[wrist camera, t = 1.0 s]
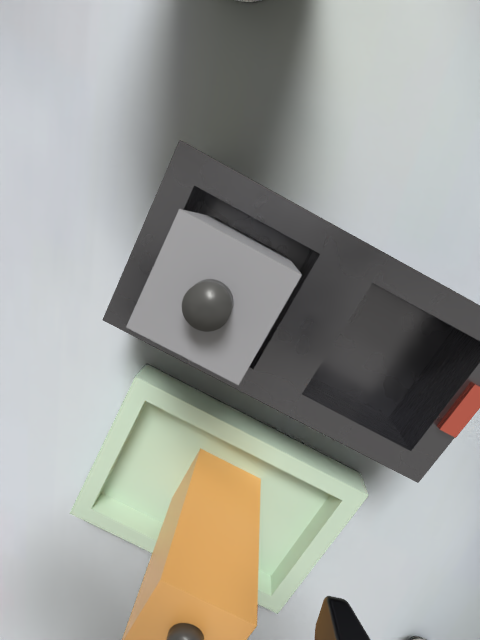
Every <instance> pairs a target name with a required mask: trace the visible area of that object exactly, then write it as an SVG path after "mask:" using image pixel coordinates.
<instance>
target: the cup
mask: <svg viewBox="0 0 480 640" xmlns="http://www.w3.org/2000/svg"><path fill="white" fill-rule="evenodd" d="M236 1H241V2H255V1H260V0H236Z"/></svg>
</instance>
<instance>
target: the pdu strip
mask: <svg viewBox="0 0 480 640" xmlns="http://www.w3.org/2000/svg"><path fill="white" fill-rule="evenodd" d="M179 209H182V210H187V211H191V212H195V213H200V214H204V215H208V216H212V217H216V218H217V219H219V220H221V221H223V222H225V223H227V224H228V225H230V226H232V227H234V228H236V229H238V230H240V231H241V232H243V233H245V234H247V235H249V236H251V237H252V238H254V239H256V240H258V241H260V242H262V243H264V244H265V245H267V246H269V247H271V248H273V249H275V250H276V251H278V252H280V253H282V254H284V255H286V256H288V257H289V259H290V260H291V261H292V263H293V264H294V265H295V267H296V268H297V269H298V270H299V272H300V273H301V274H302V276H301V278H300V279H299V281H298V283H297V285H296V286H295V288H294V290H293V291H292V293H291V295H290V297H289V298H288V300H287V302H286V304H285V305H284V307H283V309H282V311H281V312H280V314H279V316H278V318H277V319H276V321H275V323H274V325H273V326H272V328H271V330H270V331H269V333H268V335H267V337H266V338H265V340H264V342H263V344H262V345H261V347H260V349H259V351H258V352H257V354H256V356H255V358H254V359H253V361H252V363H251V364H250V366H249V368H248V370H247V371H246V373H245V375H244V377H243V378H242V380H241V382H240V384H239V385H237V384H235V383H233V382H231V381H229V380H227V379H225V378H223V377H221V376H220V375H218V374H216V373H214V372H212V371H210V370H208V369H206V368H204V367H202V366H200V365H198V364H196V363H194V362H192V361H190V360H189V359H187V358H185V357H183V356H181V355H179V354H177V353H175V352H173V351H171V350H169V349H167V348H165V347H163V346H161V345H160V344H158V343H156V342H154V341H152V340H150V339H148V338H146V337H144V336H142V335H140V334H138V333H136V332H134V331H132V330H130V329H129V328H127V327H126V326H127V324H128V322H129V319H130V317H131V315H132V313H133V310H134V308H135V306H136V304H137V302H138V299H139V297H140V295H141V293H142V291H143V288H144V286H145V284H146V282H147V279H148V277H149V275H150V273H151V271H152V268H153V266H154V264H155V262H156V260H157V257H158V255H159V253H160V251H161V248H162V246H163V244H164V242H165V240H166V237H167V235H168V233H169V231H170V228H171V226H172V224H173V222H174V220H175V217H176V215H177V213H178V211H179ZM103 321H105V322H107V323H109V324H111V325H113V326H115V327H117V328H119V329H121V330H123V331H125V332H127V333H129V334H131V335H133V336H134V337H136V338H138V339H140V340H142V341H144V342H146V343H148V344H150V345H152V346H154V347H156V348H158V349H160V350H162V351H164V352H165V353H167V354H169V355H171V356H173V357H175V358H177V359H179V360H181V361H183V362H185V363H187V364H189V365H191V366H193V367H195V368H197V369H198V370H200V371H202V372H204V373H206V374H208V375H210V376H212V377H214V378H216V379H218V380H220V381H222V382H224V383H226V384H228V385H229V386H231V387H233V388H235V389H237V390H239V391H241V392H243V393H245V394H247V395H249V396H251V397H253V398H255V399H257V400H259V401H260V402H262V403H264V404H266V405H268V406H270V407H272V408H274V409H276V410H278V411H280V412H282V413H284V414H286V415H288V416H290V417H291V418H293V419H295V420H297V421H299V422H301V423H303V424H305V425H307V426H309V427H311V428H313V429H315V430H317V431H319V432H321V433H323V434H324V435H326V436H328V437H330V438H332V439H334V440H336V441H338V442H340V443H342V444H344V445H346V446H348V447H350V448H352V449H354V450H355V451H357V452H359V453H361V454H363V455H365V456H367V457H369V458H371V459H373V460H375V461H377V462H379V463H381V464H383V465H385V466H386V467H388V468H390V469H392V470H394V471H396V472H398V473H400V474H402V475H404V476H406V477H408V478H410V479H412V480H414V481H416V482H417V483H418V482H419V481H420V480H421V479H422V478H423V476H424V475H425V474H426V473H427V471H428V470H429V469H430V468H431V466H432V465H433V464H434V463H435V461H436V460H437V459H438V458H439V456H440V455H441V454H442V453H443V451H444V450H445V449H446V448H447V447H448V445H449V444H450V443H451V442H452V440H453V439H454V438H456V437H457V435H458V434H459V433H460V432H461V431H462V429H463V428H464V427H465V426H466V424H467V423H468V422H469V421H470V419H471V418H472V417H473V416H474V414H475V413H476V412H477V411H478V409H479V408H480V305H478V304H476V303H475V302H473V301H471V300H469V299H467V298H465V297H464V296H462V295H460V294H458V293H456V292H455V291H453V290H451V289H449V288H447V287H446V286H444V285H442V284H440V283H438V282H436V281H435V280H433V279H431V278H429V277H427V276H426V275H424V274H422V273H420V272H418V271H417V270H415V269H413V268H411V267H409V266H407V265H406V264H404V263H402V262H400V261H398V260H397V259H395V258H393V257H391V256H389V255H388V254H386V253H384V252H382V251H380V250H378V249H377V248H375V247H373V246H371V245H369V244H368V243H366V242H364V241H362V240H360V239H358V238H357V237H355V236H353V235H351V234H349V233H348V232H346V231H344V230H342V229H340V228H339V227H337V226H335V225H333V224H331V223H329V222H328V221H326V220H324V219H322V218H320V217H319V216H317V215H315V214H313V213H311V212H310V211H308V210H306V209H304V208H302V207H300V206H299V205H297V204H295V203H293V202H291V201H290V200H288V199H286V198H284V197H282V196H281V195H279V194H277V193H275V192H273V191H271V190H270V189H268V188H266V187H264V186H262V185H261V184H259V183H257V182H255V181H253V180H252V179H250V178H248V177H246V176H244V175H242V174H241V173H239V172H237V171H235V170H233V169H232V168H230V167H228V166H226V165H224V164H223V163H221V162H219V161H217V160H215V159H213V158H212V157H210V156H208V155H206V154H204V153H203V152H201V151H199V150H197V149H195V148H194V147H192V146H190V145H188V144H186V143H184V142H183V141H181V140H180V141H179V143H178V145H177V148H176V150H175V152H174V155H173V157H172V159H171V162H170V164H169V166H168V169H167V171H166V173H165V176H164V178H163V180H162V183H161V185H160V187H159V190H158V192H157V194H156V197H155V199H154V201H153V203H152V206H151V208H150V210H149V213H148V215H147V217H146V220H145V222H144V224H143V227H142V229H141V231H140V234H139V236H138V238H137V241H136V243H135V245H134V248H133V250H132V252H131V255H130V257H129V259H128V262H127V264H126V266H125V269H124V271H123V273H122V276H121V278H120V280H119V283H118V285H117V287H116V290H115V292H114V294H113V297H112V299H111V301H110V304H109V306H108V308H107V311H106V313H105V315H104V318H103Z"/></svg>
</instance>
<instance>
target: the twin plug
mask: <svg viewBox="0 0 480 640" xmlns="http://www.w3.org/2000/svg"><path fill="white" fill-rule="evenodd" d="M301 276H302V274H301V273H300V272H299V270H298V269H297V268H296V267H295V265H294V264H293V263H292V261H291V260H290V259H289V257H288V256H286V255H284V254H282V253H280V252H278V251H276V250H275V249H273V248H271V247H269V246H267V245H265V244H264V243H262V242H260V241H258V240H256V239H254V238H252V237H251V236H249V235H247V234H245V233H243V232H241V231H240V230H238V229H236V228H234V227H232V226H230V225H228V224H227V223H225V222H223V221H221V220H219V219H217V218H216V217H212V216H208V215H204V214H200V213H195V212H191V211H187V210H182V209H179V211H178V213H177V215H176V217H175V220H174V222H173V224H172V226H171V228H170V231H169V233H168V235H167V237H166V240H165V242H164V244H163V246H162V248H161V251H160V253H159V255H158V257H157V260H156V262H155V264H154V266H153V268H152V271H151V273H150V275H149V277H148V279H147V282H146V284H145V286H144V288H143V291H142V293H141V295H140V297H139V299H138V302H137V304H136V306H135V308H134V310H133V313H132V315H131V317H130V319H129V322H128V324H127V326H126V327H127V328H129V329H130V330H132V331H134V332H136V333H138V334H140V335H142V336H144V337H146V338H148V339H150V340H152V341H154V342H156V343H158V344H160V345H161V346H163V347H165V348H167V349H169V350H171V351H173V352H175V353H177V354H179V355H181V356H183V357H185V358H187V359H189V360H190V361H192V362H194V363H196V364H198V365H200V366H202V367H204V368H206V369H208V370H210V371H212V372H214V373H216V374H218V375H220V376H221V377H223V378H225V379H227V380H229V381H231V382H233V383H235V384H237V385H239V384H240V382H241V380H242V378H243V377H244V375H245V373H246V371H247V370H248V368H249V366H250V364H251V363H252V361H253V359H254V358H255V356H256V354H257V352H258V351H259V349H260V347H261V345H262V344H263V342H264V340H265V338H266V337H267V335H268V333H269V331H270V330H271V328H272V326H273V325H274V323H275V321H276V319H277V318H278V316H279V314H280V312H281V311H282V309H283V307H284V305H285V304H286V302H287V300H288V298H289V297H290V295H291V293H292V291H293V290H294V288H295V286H296V285H297V283H298V281H299V279H300V278H301Z"/></svg>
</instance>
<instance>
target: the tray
mask: <svg viewBox="0 0 480 640" xmlns="http://www.w3.org/2000/svg"><path fill="white" fill-rule="evenodd" d="M200 448H201V449H203V450H205V451H207V452H209V453H210V454H212V455H214V456H216V457H218V458H220V459H222V460H224V461H226V462H228V463H230V464H232V465H234V466H236V467H238V468H240V469H242V470H244V471H246V472H248V473H250V474H252V475H254V476H256V477H258V478H260V479H261V491H260V529H259V567H258V605H260V606H263V607H265V608H267V609H269V610H271V611H273V612H275V613H277V614H278V613H279V612H280V610H281V609H282V608H283V606H284V605H285V604H286V602H287V601H288V600H289V598H290V597H291V596H292V595H293V593H294V592H295V591H296V589H297V588H298V587H299V585H300V584H301V583H302V582H303V580H304V579H305V578H306V576H307V575H308V574H309V572H310V571H311V570H312V568H313V567H314V566H315V565H316V563H317V562H318V561H319V559H320V558H321V557H322V555H323V554H324V553H325V552H326V550H327V549H328V548H329V546H330V545H331V544H332V542H333V541H334V540H335V538H336V537H337V536H338V535H339V533H340V532H341V531H342V529H343V528H344V527H345V525H346V524H347V523H348V522H349V520H350V519H351V518H352V516H353V515H354V514H355V512H356V511H357V510H358V508H359V507H360V506H361V505H362V503H363V502H364V501H365V499H366V498H367V497H368V493H367V490H366V487H365V485H364V482H363V479H362V477H361V474H360V473H359V472H357V471H355V470H353V469H351V468H349V467H347V466H345V465H343V464H341V463H339V462H337V461H335V460H333V459H331V458H330V457H328V456H326V455H324V454H322V453H320V452H318V451H316V450H314V449H312V448H310V447H308V446H306V445H304V444H302V443H300V442H298V441H296V440H294V439H292V438H291V437H289V436H287V435H285V434H283V433H281V432H279V431H277V430H275V429H273V428H271V427H269V426H267V425H265V424H263V423H261V422H259V421H257V420H255V419H253V418H251V417H250V416H248V415H246V414H244V413H242V412H240V411H238V410H236V409H234V408H232V407H230V406H228V405H226V404H224V403H222V402H220V401H218V400H216V399H214V398H212V397H211V396H209V395H207V394H205V393H203V392H201V391H199V390H197V389H195V388H193V387H191V386H189V385H187V384H185V383H183V382H181V381H179V380H177V379H175V378H173V377H171V376H170V375H168V374H166V373H164V372H162V371H160V370H158V369H156V368H154V367H152V366H150V365H148V364H146V365H145V366H144V367H143V369H142V370H141V371H140V372H139V373H138V374H137V375H136V376H135V378H134V380H133V382H132V385H131V387H130V389H129V391H128V393H127V395H126V397H125V399H124V401H123V403H122V405H121V408H120V410H119V412H118V414H117V416H116V418H115V420H114V422H113V424H112V426H111V428H110V430H109V433H108V435H107V437H106V439H105V441H104V443H103V445H102V447H101V449H100V451H99V453H98V455H97V458H96V460H95V462H94V464H93V466H92V468H91V470H90V472H89V474H88V476H87V478H86V481H85V483H84V485H83V487H82V489H81V491H80V493H79V495H78V497H77V499H76V501H75V503H74V506H73V508H72V510H71V512H70V514H72V515H74V516H76V517H78V518H80V519H82V520H84V521H86V522H88V523H90V524H93V525H95V526H97V527H99V528H101V529H103V530H105V531H107V532H109V533H111V534H113V535H115V536H117V537H119V538H122V539H124V540H126V541H128V542H130V543H132V544H134V545H136V546H138V547H140V548H142V549H144V550H146V551H148V552H151V553H153V550H154V547H155V545H156V542H157V539H158V536H159V533H160V531H161V528H162V525H163V522H164V519H165V516H166V514H167V511H168V508H169V505H170V502H171V499H172V497H173V495H174V494H175V492H176V490H177V488H178V487H179V485H180V483H181V481H182V480H183V478H184V476H185V474H186V473H187V471H188V469H189V468H190V466H191V464H192V462H193V461H194V459H195V457H196V455H197V454H198V452H199V450H200Z"/></svg>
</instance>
